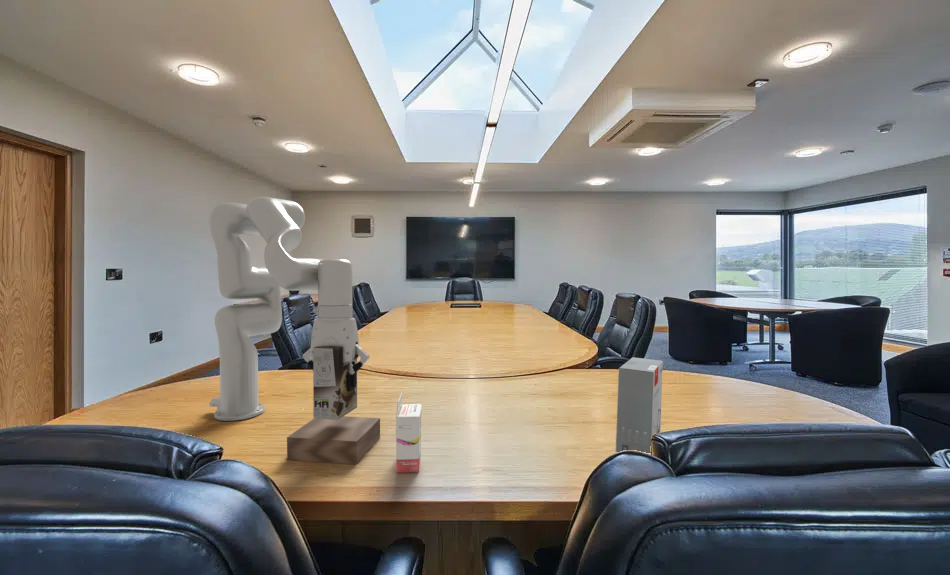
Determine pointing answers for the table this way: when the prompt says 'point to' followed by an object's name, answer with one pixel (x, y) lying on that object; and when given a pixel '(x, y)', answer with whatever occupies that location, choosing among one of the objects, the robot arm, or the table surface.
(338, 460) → the walnut plinth
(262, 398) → the table surface
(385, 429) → the table surface
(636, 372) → the hard drive box
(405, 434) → the ink cartridge box
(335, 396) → the chocolate food box
